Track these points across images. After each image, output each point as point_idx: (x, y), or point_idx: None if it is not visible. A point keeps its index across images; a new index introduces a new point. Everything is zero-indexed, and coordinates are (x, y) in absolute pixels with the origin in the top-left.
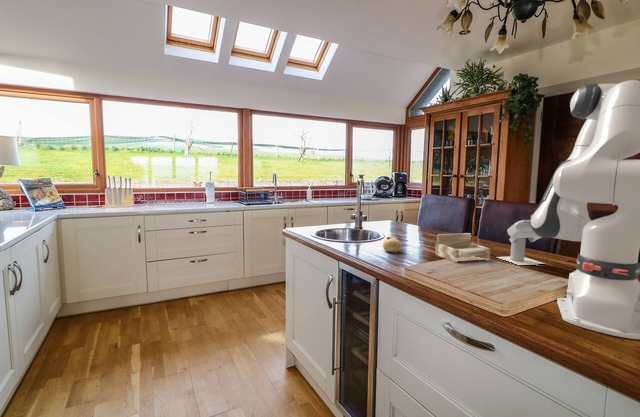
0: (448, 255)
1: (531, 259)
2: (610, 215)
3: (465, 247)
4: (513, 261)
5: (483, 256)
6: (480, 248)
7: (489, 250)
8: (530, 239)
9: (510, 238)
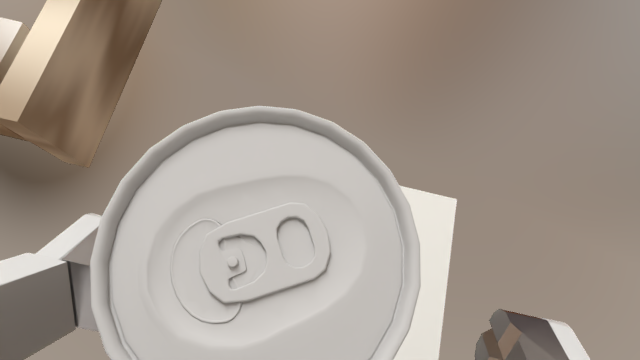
0: None
1: (435, 326)
2: None
3: None
4: None
5: (7, 133)
6: (7, 46)
7: (19, 128)
8: (498, 346)
9: (68, 234)
